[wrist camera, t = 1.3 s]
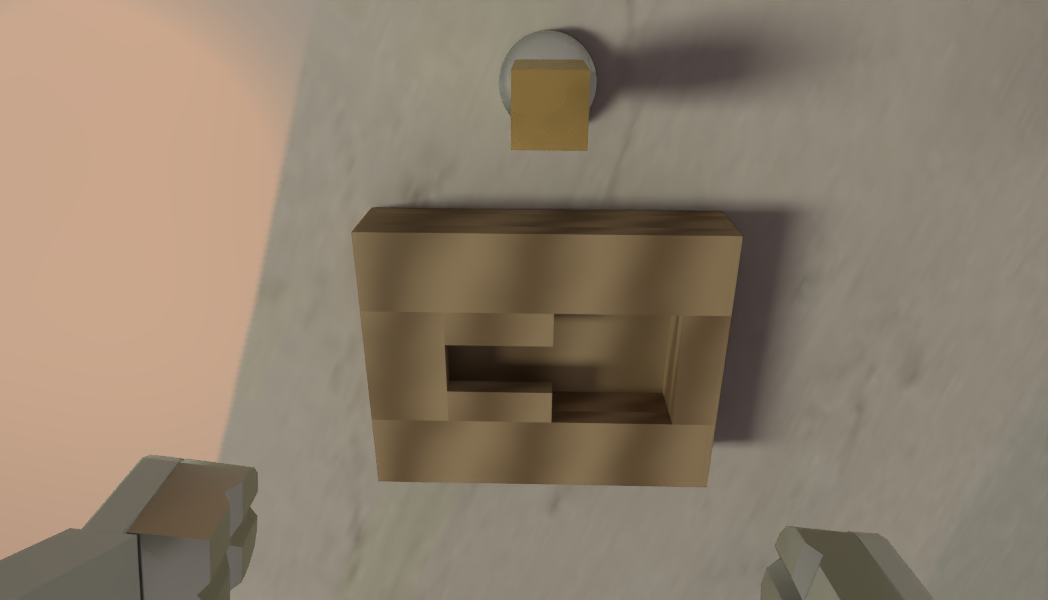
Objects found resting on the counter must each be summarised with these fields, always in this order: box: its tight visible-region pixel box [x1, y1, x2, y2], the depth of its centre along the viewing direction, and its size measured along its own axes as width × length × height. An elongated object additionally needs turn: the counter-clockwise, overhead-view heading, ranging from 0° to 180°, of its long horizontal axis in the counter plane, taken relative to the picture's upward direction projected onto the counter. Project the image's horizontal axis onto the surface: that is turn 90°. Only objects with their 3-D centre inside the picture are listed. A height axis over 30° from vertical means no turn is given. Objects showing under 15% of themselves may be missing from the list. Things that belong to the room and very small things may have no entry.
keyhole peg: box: [499, 30, 597, 151], centre depth 30 cm, size 5×5×10 cm
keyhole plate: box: [351, 208, 743, 487], centre depth 39 cm, size 20×16×4 cm
